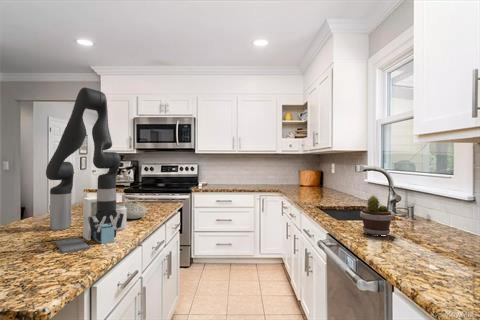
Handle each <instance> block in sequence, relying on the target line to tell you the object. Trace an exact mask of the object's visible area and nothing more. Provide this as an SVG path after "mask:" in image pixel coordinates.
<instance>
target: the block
mask: <svg viewBox="0 0 480 320" xmlns="http://www.w3.org/2000/svg"><path fill="white" fill-rule="evenodd" d="M94 225H95V228H96V227H97V224H94ZM100 232H101V241H98V240H97V239H96V232H95V231H93V236H92V239H93V240H94V241H96V242H98V243H100V244H101V245H103V244H104V245H105V244H109V243H114V242H115V238H114V227H112V226H110V225H108V224H103V226H102V228H101V230H100Z"/></svg>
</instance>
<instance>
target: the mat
mask: <svg viewBox="0 0 480 320" xmlns="http://www.w3.org/2000/svg"><path fill="white" fill-rule="evenodd" d="M54 244H55V246H56V247H57V248H58V249H59V250H60V251H61V253H62V254H67V253H73V252H77V251H84V250H89V249H91V247H90V245H88V243H86V242H85V241H84V240H83V239H82V238H80V237H74V238H67V239H61V240H54Z"/></svg>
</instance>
